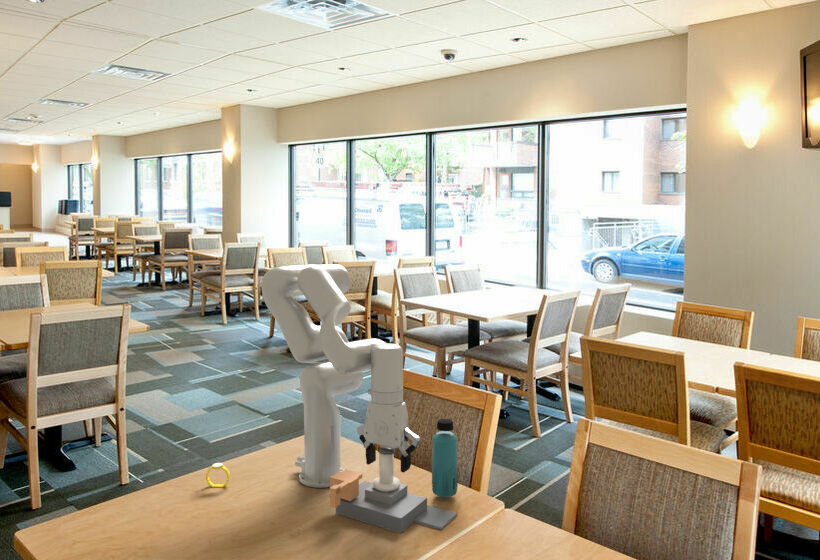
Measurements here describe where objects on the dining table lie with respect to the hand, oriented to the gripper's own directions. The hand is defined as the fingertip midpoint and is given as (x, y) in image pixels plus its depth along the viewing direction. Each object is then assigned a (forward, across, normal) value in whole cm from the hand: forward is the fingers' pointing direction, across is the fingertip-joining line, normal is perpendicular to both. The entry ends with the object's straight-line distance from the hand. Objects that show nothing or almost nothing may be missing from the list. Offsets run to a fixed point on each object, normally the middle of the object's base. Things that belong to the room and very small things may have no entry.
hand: (388, 466), depth 152 cm
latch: (+7, -9, -7) cm, 13 cm away
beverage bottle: (+11, +8, +13) cm, 19 cm away
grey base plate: (+11, -1, -2) cm, 11 cm away
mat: (+11, +11, +2) cm, 16 cm away
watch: (+10, -45, -12) cm, 47 cm away
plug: (+7, -1, 0) cm, 7 cm away
